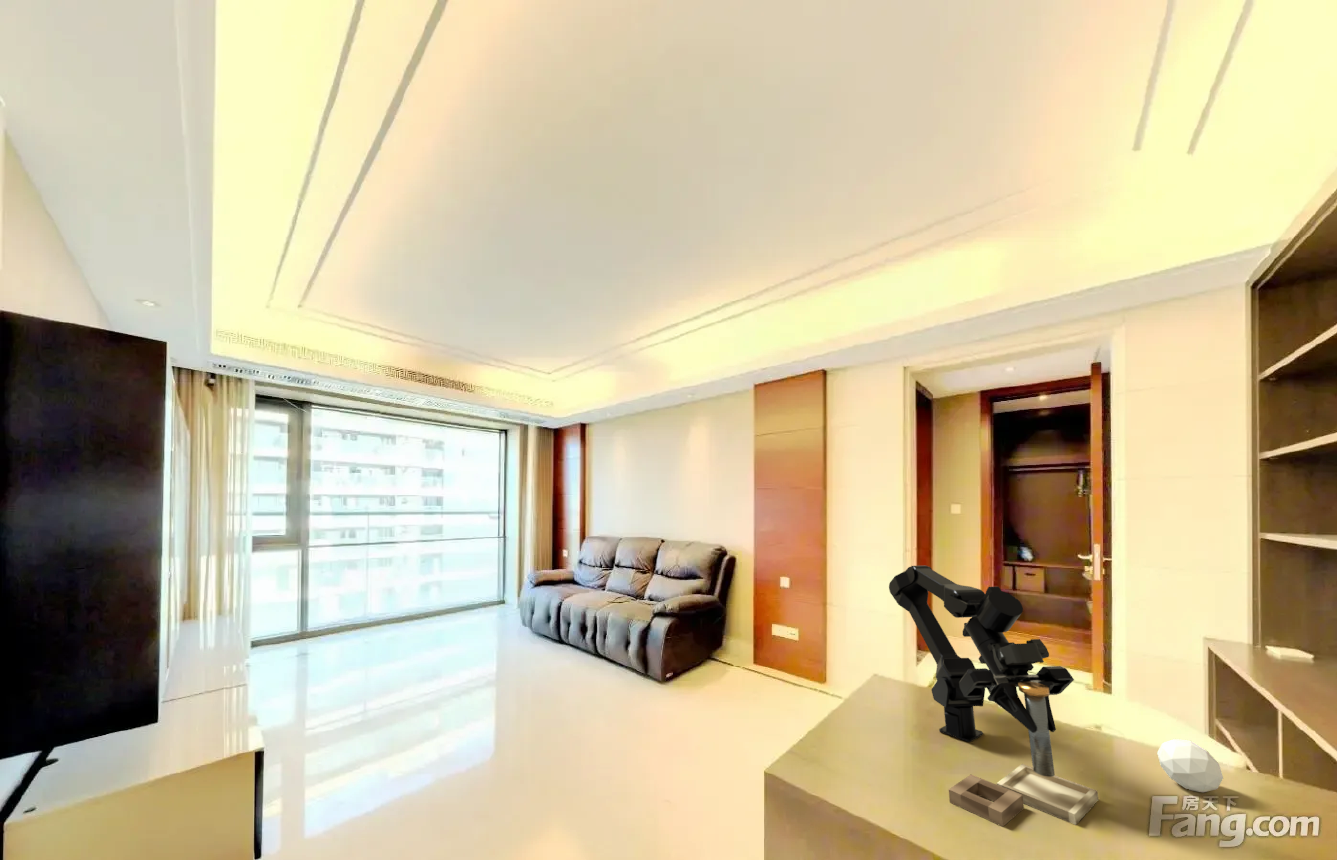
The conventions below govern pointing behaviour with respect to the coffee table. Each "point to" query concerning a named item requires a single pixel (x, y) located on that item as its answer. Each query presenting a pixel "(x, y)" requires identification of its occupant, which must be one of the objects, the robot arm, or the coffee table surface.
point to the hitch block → (996, 811)
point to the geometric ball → (1190, 765)
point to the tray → (1051, 793)
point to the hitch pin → (1038, 727)
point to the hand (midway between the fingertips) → (1044, 731)
